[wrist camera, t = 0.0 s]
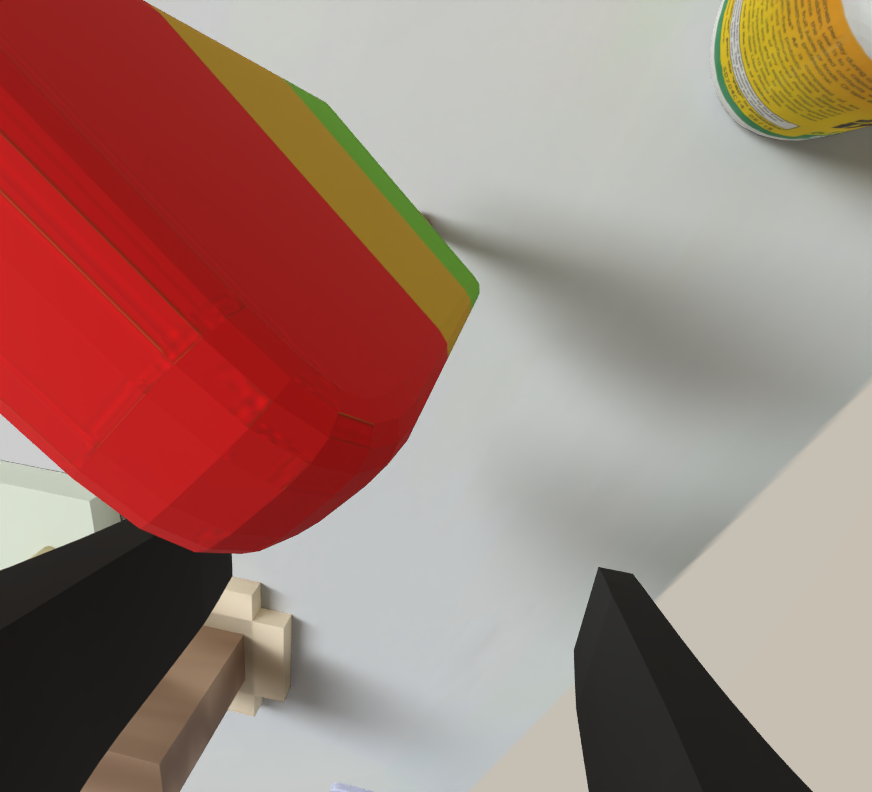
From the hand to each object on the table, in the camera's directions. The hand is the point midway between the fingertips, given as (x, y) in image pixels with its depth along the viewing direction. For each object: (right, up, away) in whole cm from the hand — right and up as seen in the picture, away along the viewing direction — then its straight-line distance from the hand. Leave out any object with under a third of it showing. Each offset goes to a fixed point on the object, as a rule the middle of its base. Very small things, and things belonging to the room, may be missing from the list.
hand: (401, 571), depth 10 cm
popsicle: (0, +9, +7) cm, 12 cm away
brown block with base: (-10, -9, +16) cm, 21 cm away
